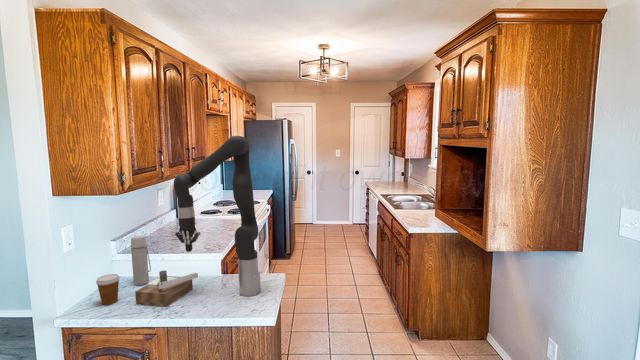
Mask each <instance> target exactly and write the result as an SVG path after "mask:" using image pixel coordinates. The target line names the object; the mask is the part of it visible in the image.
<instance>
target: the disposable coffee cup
mask: <svg viewBox="0 0 640 360" xmlns="http://www.w3.org/2000/svg"><path fill="white" fill-rule="evenodd" d="M119 281H120V275H119V274H116V273H110V274H109V273H108V274H105V275H101V276H99V277H97V279H96V281H95V283H96V285H97V289H98V292H99V297H100V301H101V305H102V306H110V305H114V304H115V303H116V304H117V302H119V300H118V299H119V283H120V282H119Z"/></svg>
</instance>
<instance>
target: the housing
mask: <svg viewBox="0 0 640 360" xmlns="http://www.w3.org/2000/svg"><path fill="white" fill-rule="evenodd" d="M167 277H173V276H169V275H167ZM176 277H177V278H180V277H181V276H176ZM193 288H194V287H193V279H191V280H187V281H184V282H181V283H178V284H175V285H172V286H170V287H168V288H166V289H165V288H162V289H157V288H152V287H147V284H145V285H144V286H143V287H141V288H140V289H137V290H135V292H134V295H135V305H139V304H141V306H152V307H153V306H154V307H161V308H162V307H163V308H168V307H169V306H170V305H172V304H173V303H175V302H176V301H178V300H179V299H181V298H182V297H184V296H185V295H187V294H188V293H189V292H192V291H193V290H194V289H193Z"/></svg>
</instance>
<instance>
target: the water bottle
mask: <svg viewBox="0 0 640 360" xmlns="http://www.w3.org/2000/svg"><path fill="white" fill-rule="evenodd" d="M148 246H149V245H148V244H147V238H146V236H145V235H144V234H143V235H134V236H132V237H130V252H131V264H132V265H131V266H132V277H133V285H135V286H143V285H144V286H145V285H147V284H148V283H150V279H149V278H150V276H149V275H150V274H149V273H150V272H151V271H152V270H151V269H152V266H151V260H150V255H149V250H148Z"/></svg>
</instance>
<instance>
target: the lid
mask: <svg viewBox="0 0 640 360" xmlns="http://www.w3.org/2000/svg"><path fill="white" fill-rule="evenodd" d="M167 273H168V272H167V270H160V271H159V272H158V274H159V277H158V278H156V279H154V280H152V281H149V282H148V283H146V285H147V287H152V288H157V283H159V282H167V281H170V280H173V279H177V277H178V276H172V277H167V276H168V275H167ZM168 287H170V286H168ZM168 287H165V289H166V288H168Z"/></svg>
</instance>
